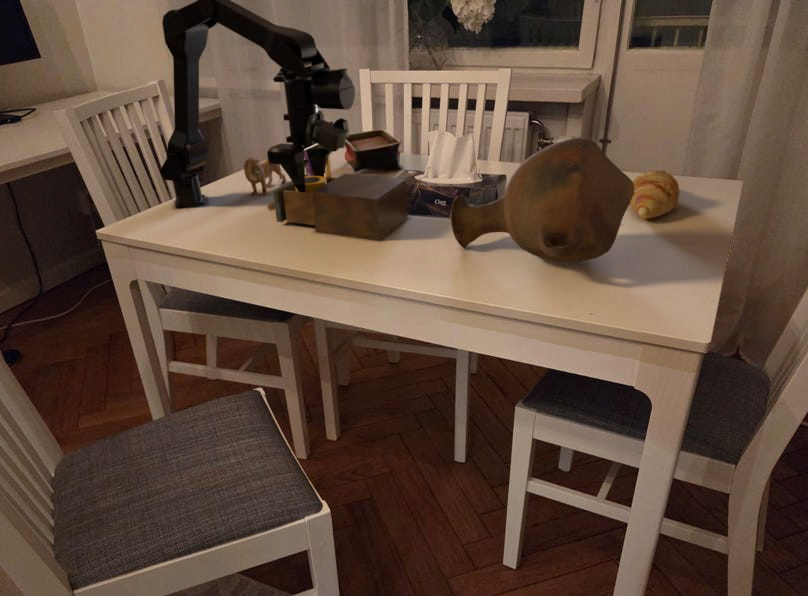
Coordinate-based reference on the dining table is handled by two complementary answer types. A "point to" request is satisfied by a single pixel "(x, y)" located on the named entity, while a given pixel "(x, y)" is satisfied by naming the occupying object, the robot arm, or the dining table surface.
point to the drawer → (293, 204)
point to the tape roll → (313, 183)
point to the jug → (554, 204)
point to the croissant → (654, 194)
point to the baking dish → (373, 151)
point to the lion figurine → (261, 173)
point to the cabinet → (360, 206)
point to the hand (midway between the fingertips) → (311, 188)
